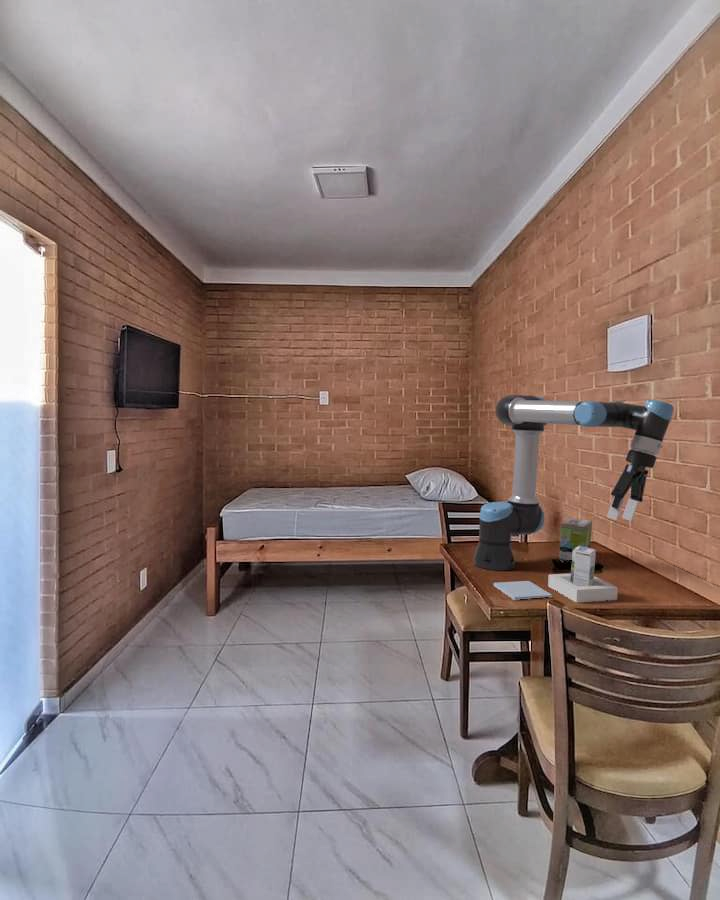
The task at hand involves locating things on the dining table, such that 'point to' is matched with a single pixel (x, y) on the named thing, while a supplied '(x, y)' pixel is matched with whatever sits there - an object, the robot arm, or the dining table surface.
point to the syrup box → (583, 566)
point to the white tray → (582, 589)
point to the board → (522, 590)
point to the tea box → (574, 536)
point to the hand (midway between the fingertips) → (619, 519)
